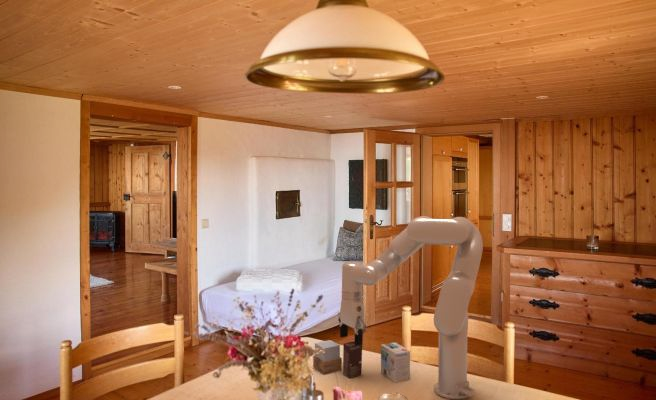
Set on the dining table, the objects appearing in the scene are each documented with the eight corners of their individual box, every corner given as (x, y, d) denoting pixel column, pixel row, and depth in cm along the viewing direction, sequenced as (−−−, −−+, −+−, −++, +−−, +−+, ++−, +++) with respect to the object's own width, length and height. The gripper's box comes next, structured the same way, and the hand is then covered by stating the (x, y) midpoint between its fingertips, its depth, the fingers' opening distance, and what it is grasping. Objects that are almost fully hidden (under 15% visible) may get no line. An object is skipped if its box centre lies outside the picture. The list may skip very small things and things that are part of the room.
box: (349, 379, 178) (349, 346, 178) (342, 374, 182) (342, 343, 182) (362, 375, 182) (362, 343, 181) (355, 371, 185) (355, 340, 185)
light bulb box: (380, 372, 185) (380, 344, 184) (395, 369, 187) (395, 341, 187) (394, 383, 175) (394, 353, 174) (410, 379, 177) (410, 350, 177)
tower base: (341, 371, 186) (341, 358, 186) (323, 375, 182) (323, 362, 182) (330, 364, 193) (330, 351, 193) (313, 368, 189) (313, 355, 189)
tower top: (339, 357, 186) (339, 345, 186) (324, 361, 183) (324, 348, 183) (330, 352, 192) (330, 339, 192) (314, 355, 189) (314, 343, 189)
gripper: (373, 299, 175) (372, 346, 176) (347, 289, 190) (346, 332, 191) (356, 301, 171) (355, 349, 172) (331, 291, 186) (330, 335, 187)
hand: (350, 340), depth 182 cm, fingers open, 9 cm apart
